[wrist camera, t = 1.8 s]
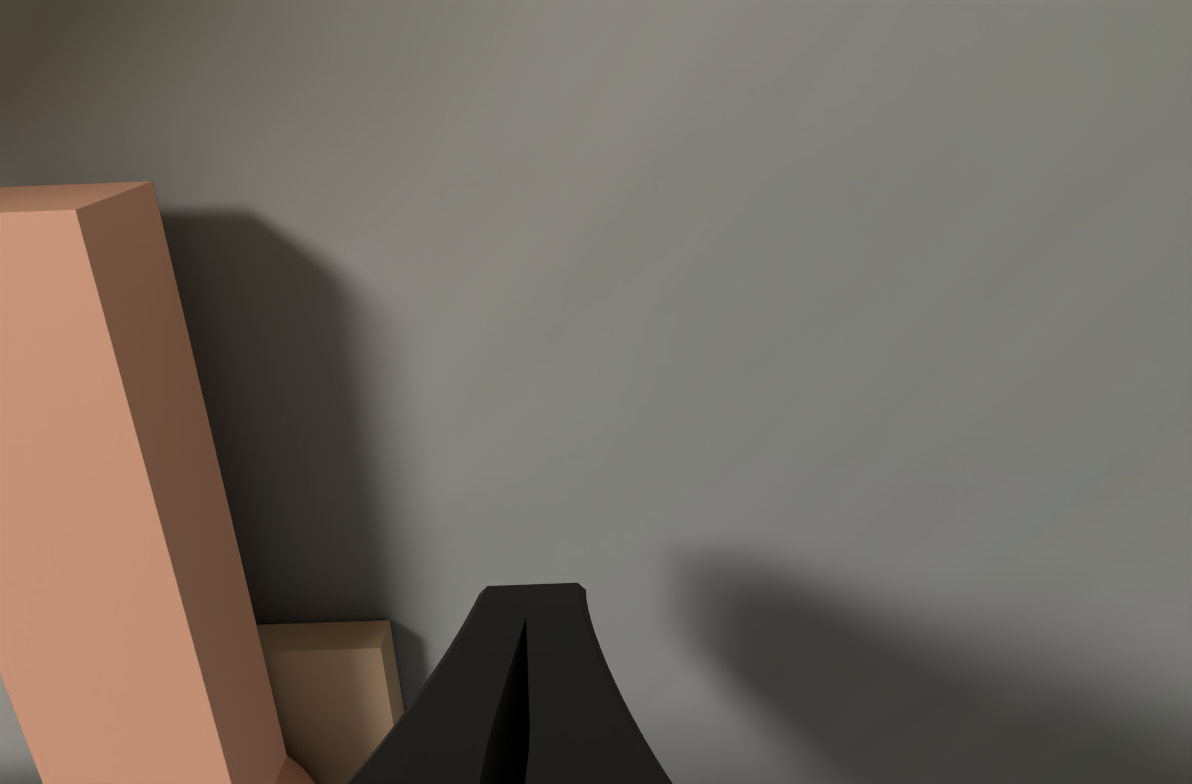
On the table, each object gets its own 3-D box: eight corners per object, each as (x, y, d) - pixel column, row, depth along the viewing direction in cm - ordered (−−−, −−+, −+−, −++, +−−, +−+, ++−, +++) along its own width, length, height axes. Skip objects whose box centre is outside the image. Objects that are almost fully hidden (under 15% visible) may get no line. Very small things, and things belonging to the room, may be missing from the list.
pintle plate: (430, 877, 19) (424, 911, 19) (116, 887, 19) (97, 921, 19) (389, 620, 17) (380, 648, 16) (23, 633, 17) (-4, 662, 16)
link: (339, 876, 18) (291, 1047, 15) (144, 883, 18) (56, 1055, 15) (188, 179, 12) (61, 230, 9) (-97, 190, 12) (-314, 244, 9)
